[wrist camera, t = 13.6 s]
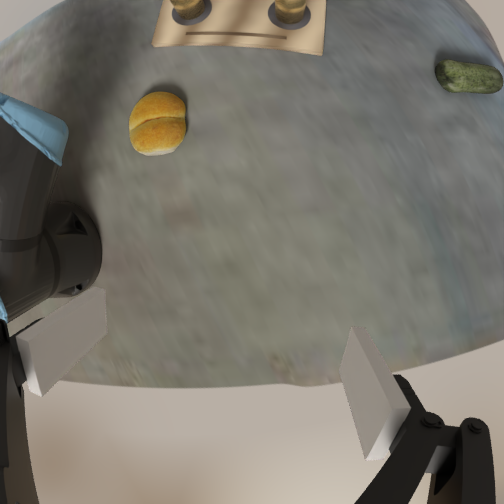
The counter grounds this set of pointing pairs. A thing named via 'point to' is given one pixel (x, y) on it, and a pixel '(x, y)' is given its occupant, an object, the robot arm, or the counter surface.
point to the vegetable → (468, 77)
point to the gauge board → (243, 26)
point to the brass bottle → (290, 10)
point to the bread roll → (157, 123)
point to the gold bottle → (188, 8)
